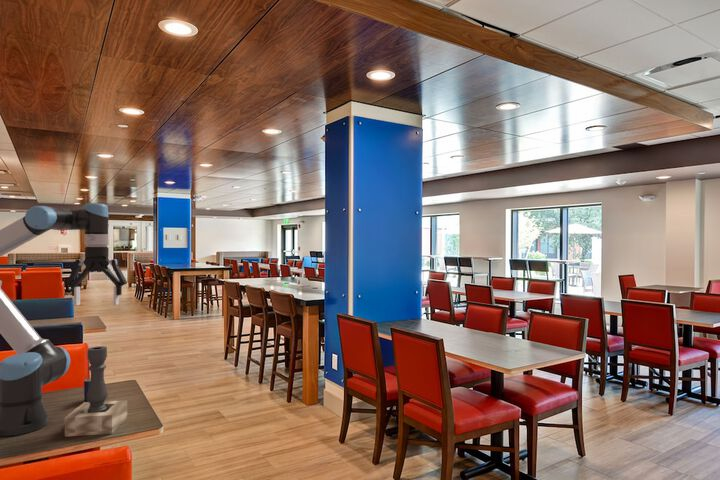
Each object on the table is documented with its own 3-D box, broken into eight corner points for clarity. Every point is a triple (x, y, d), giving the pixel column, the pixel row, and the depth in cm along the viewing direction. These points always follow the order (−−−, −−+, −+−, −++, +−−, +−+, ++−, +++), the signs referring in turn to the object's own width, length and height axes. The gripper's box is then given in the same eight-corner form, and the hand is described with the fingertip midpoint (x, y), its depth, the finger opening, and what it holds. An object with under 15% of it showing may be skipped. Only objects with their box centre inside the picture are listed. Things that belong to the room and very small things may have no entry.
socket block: (64, 436, 147) (64, 417, 147) (84, 419, 161) (84, 402, 161) (112, 433, 149) (112, 415, 149) (127, 417, 163) (127, 400, 163)
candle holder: (88, 421, 157) (88, 347, 157) (109, 418, 159) (109, 345, 159) (84, 428, 151) (84, 351, 151) (106, 425, 153) (106, 349, 153)
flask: (95, 396, 184) (95, 369, 184) (103, 396, 185) (103, 369, 184) (82, 405, 175) (82, 376, 175) (90, 405, 175) (90, 376, 175)
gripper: (54, 246, 164) (54, 306, 164) (127, 246, 166) (128, 305, 166) (66, 246, 171) (66, 303, 171) (136, 245, 173) (136, 302, 173)
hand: (96, 304), depth 169 cm, fingers open, 13 cm apart
